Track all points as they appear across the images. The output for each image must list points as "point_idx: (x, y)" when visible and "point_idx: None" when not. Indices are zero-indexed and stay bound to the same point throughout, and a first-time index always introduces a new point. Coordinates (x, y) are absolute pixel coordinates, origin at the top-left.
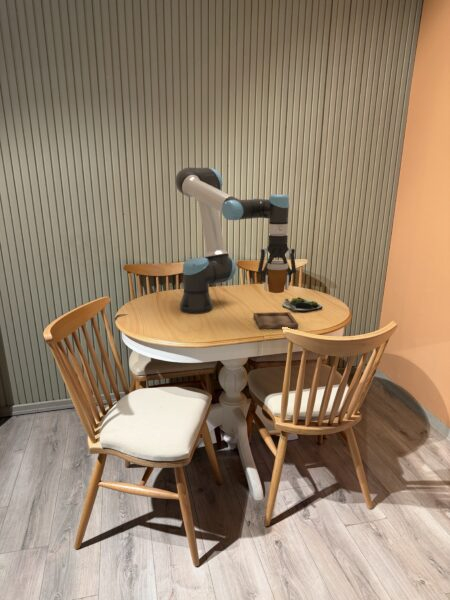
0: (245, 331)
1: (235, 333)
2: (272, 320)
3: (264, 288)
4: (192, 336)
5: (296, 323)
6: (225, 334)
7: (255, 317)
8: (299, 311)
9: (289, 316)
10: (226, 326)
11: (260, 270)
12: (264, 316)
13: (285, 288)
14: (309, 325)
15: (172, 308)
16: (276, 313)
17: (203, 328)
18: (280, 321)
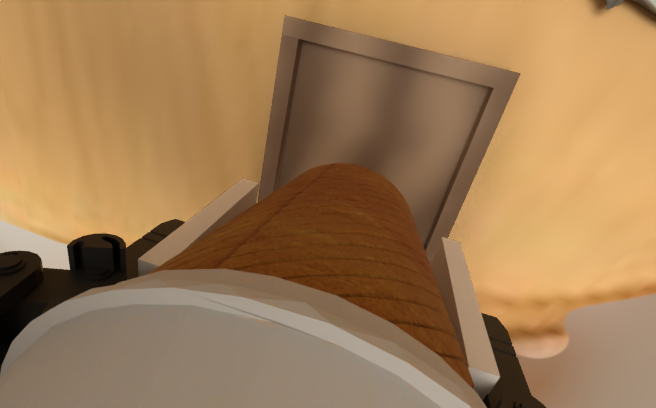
0: (206, 203)
1: (166, 208)
2: (359, 140)
3: (239, 183)
4: (21, 180)
5: (430, 259)
6: (130, 204)
7: (273, 98)
8: (647, 9)
9: (468, 145)
10: (138, 119)
11: (2, 357)
12: (345, 58)
13: (437, 251)
14: (514, 241)
15: None
16: (421, 69)
17: (47, 111)
18: (391, 169)
